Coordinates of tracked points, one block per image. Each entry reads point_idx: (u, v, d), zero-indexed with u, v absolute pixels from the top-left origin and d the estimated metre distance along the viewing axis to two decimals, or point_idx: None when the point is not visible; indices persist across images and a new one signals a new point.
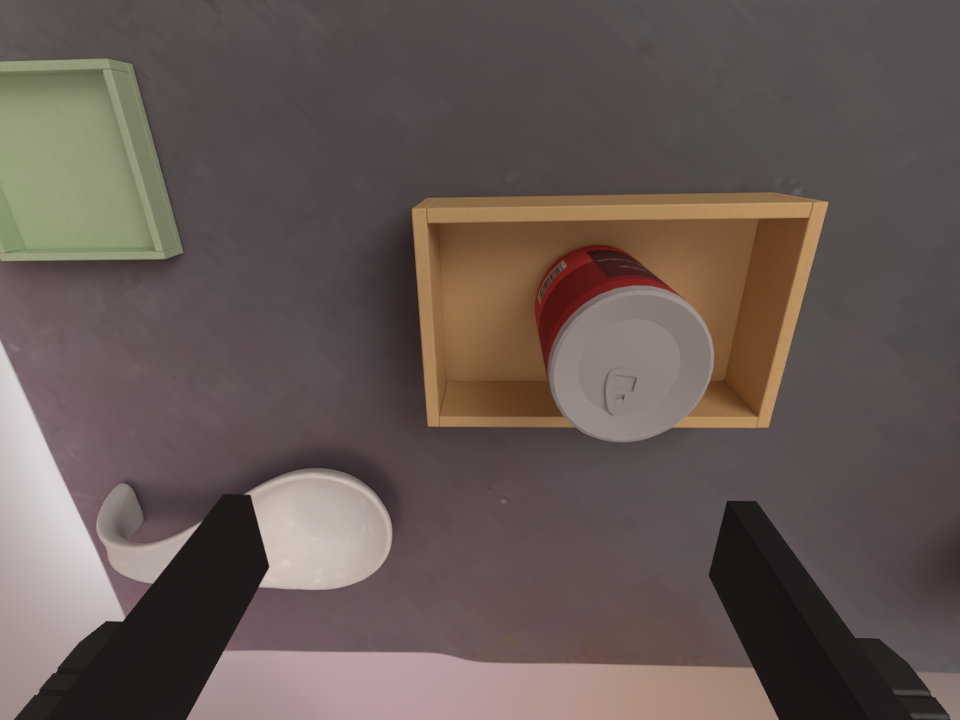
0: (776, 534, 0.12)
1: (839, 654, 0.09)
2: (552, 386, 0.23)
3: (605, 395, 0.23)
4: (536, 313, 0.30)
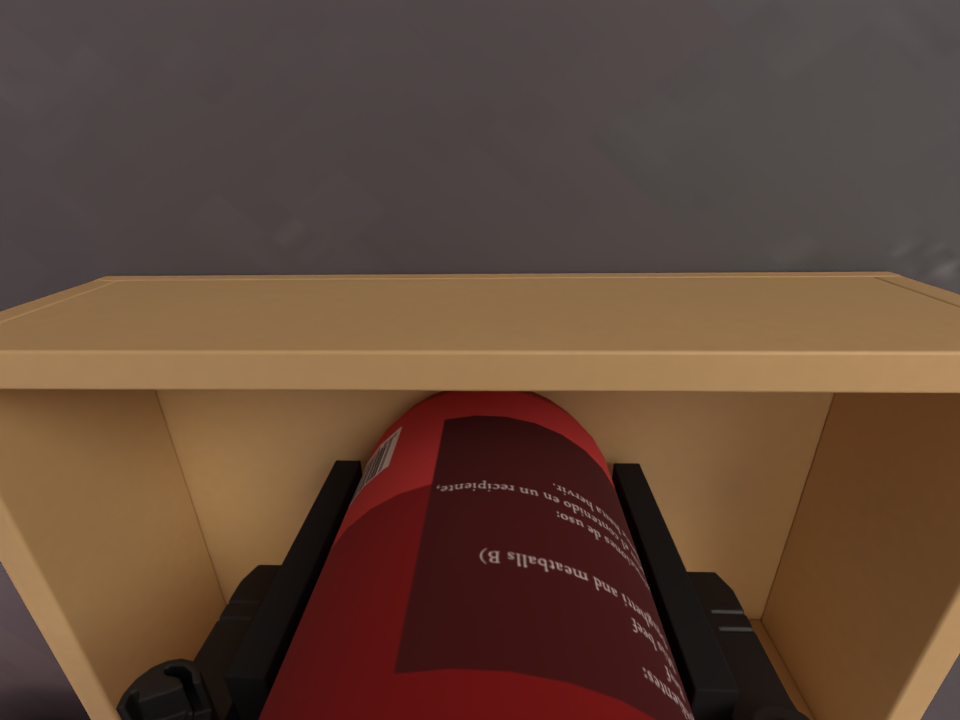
0: (647, 489, 0.13)
1: (667, 579, 0.10)
2: None
3: None
4: None
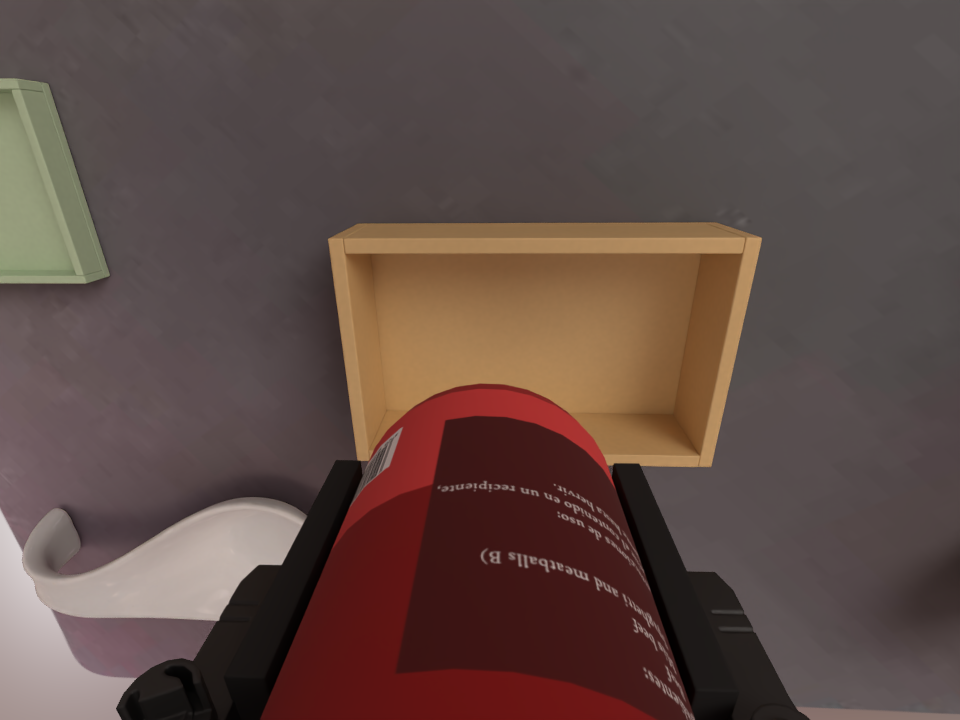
0: (647, 489, 0.13)
1: (666, 579, 0.10)
2: None
3: None
4: None
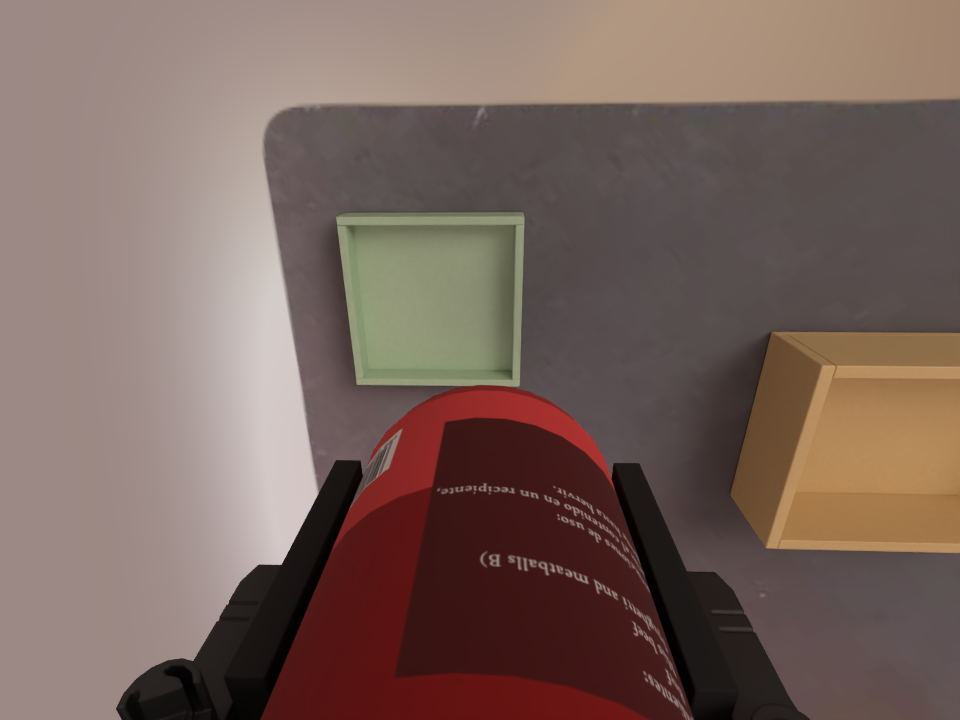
0: (647, 489, 0.13)
1: (667, 579, 0.10)
2: None
3: None
4: None
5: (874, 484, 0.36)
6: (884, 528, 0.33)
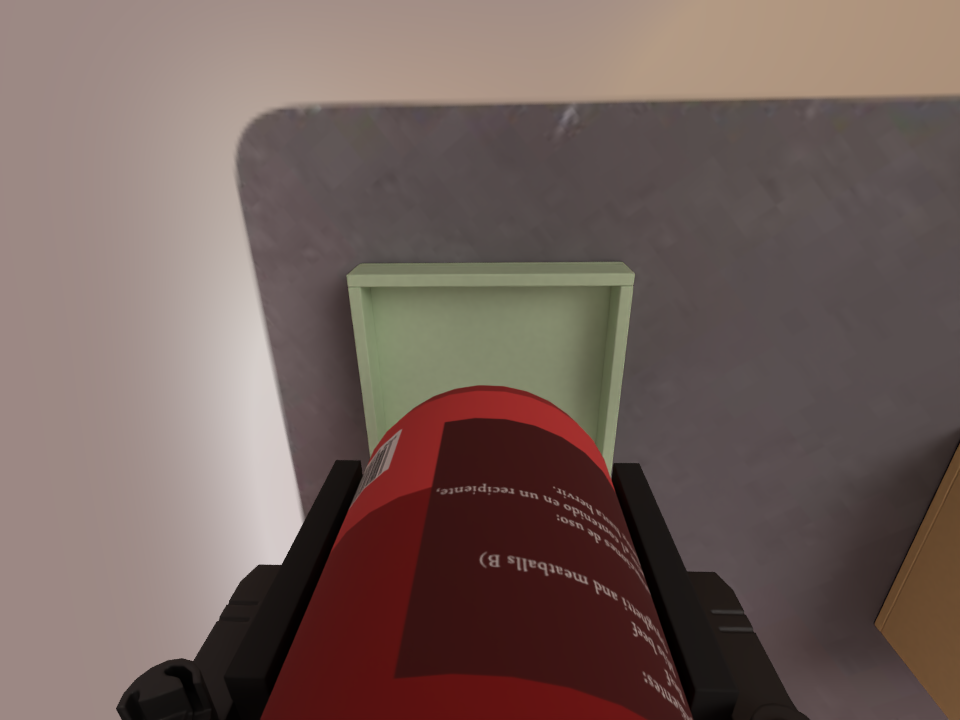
0: (647, 489, 0.13)
1: (667, 579, 0.10)
2: None
3: None
4: None
5: None
6: None
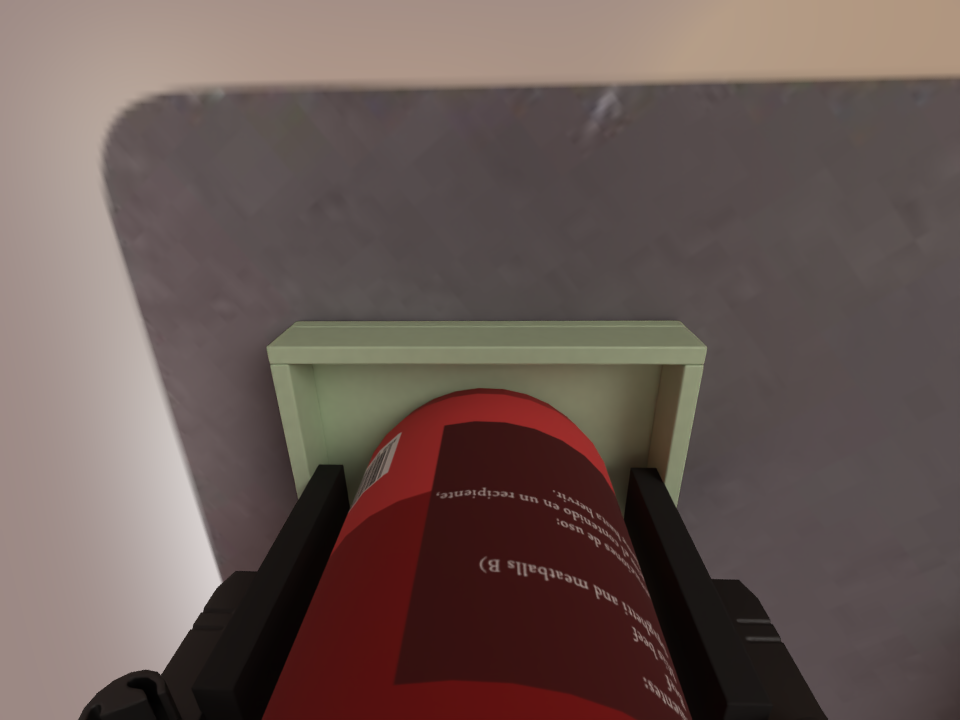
0: (666, 494, 0.13)
1: (691, 588, 0.10)
2: None
3: None
4: None
5: None
6: None
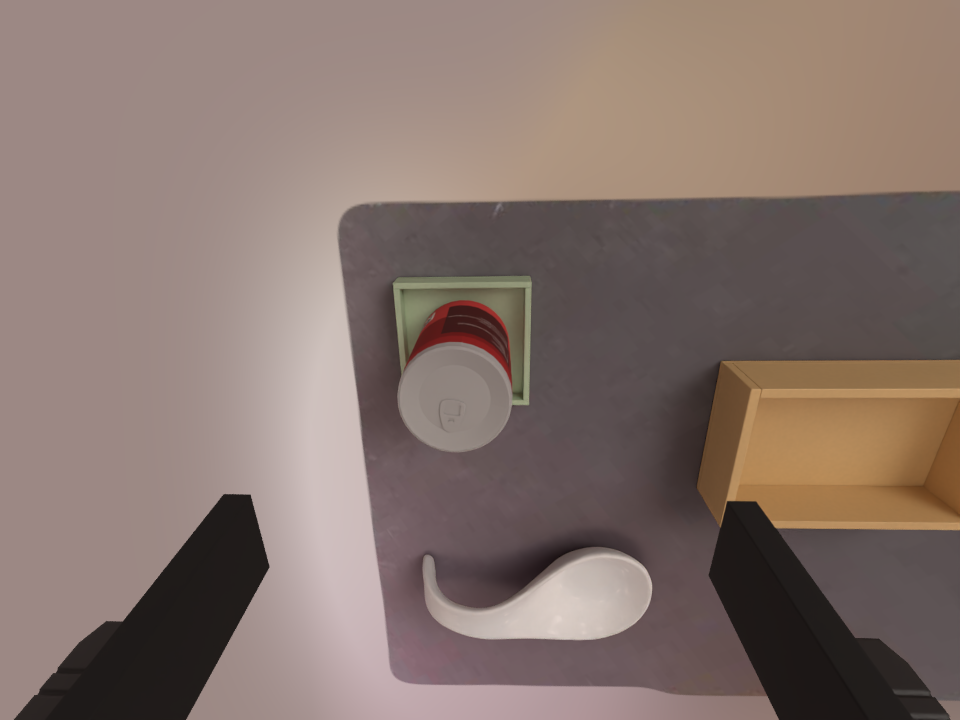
0: (776, 534, 0.12)
1: (839, 654, 0.09)
2: (400, 412, 0.32)
3: (440, 418, 0.32)
4: None
5: (809, 477, 0.45)
6: (812, 511, 0.42)
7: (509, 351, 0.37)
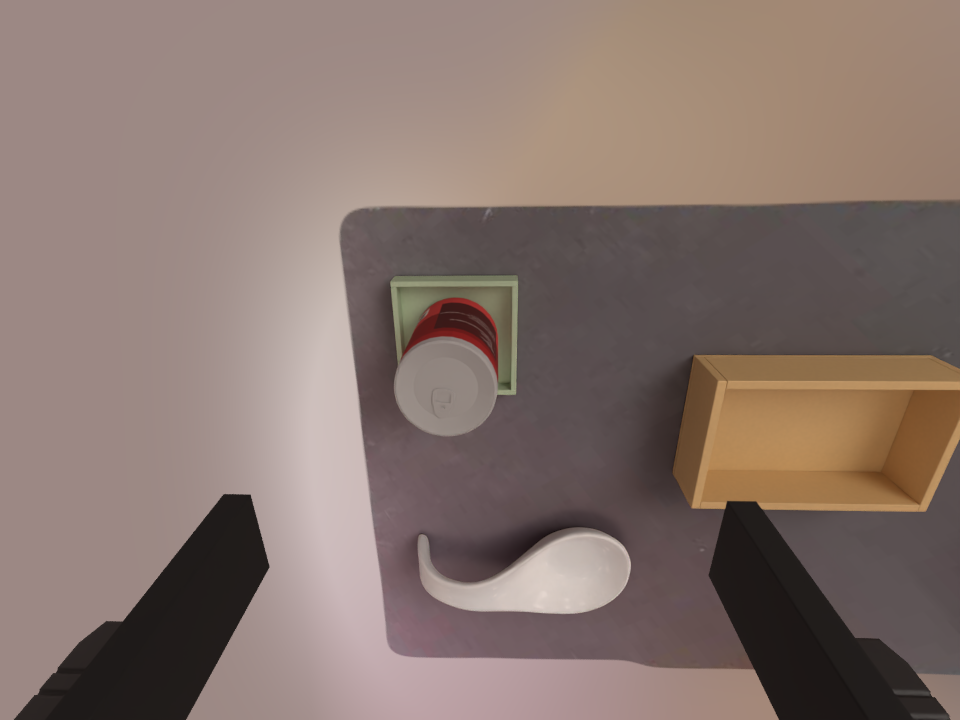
0: (776, 534, 0.12)
1: (839, 654, 0.09)
2: (396, 399, 0.35)
3: (432, 405, 0.35)
4: None
5: (776, 463, 0.49)
6: (776, 494, 0.46)
7: (497, 345, 0.40)
